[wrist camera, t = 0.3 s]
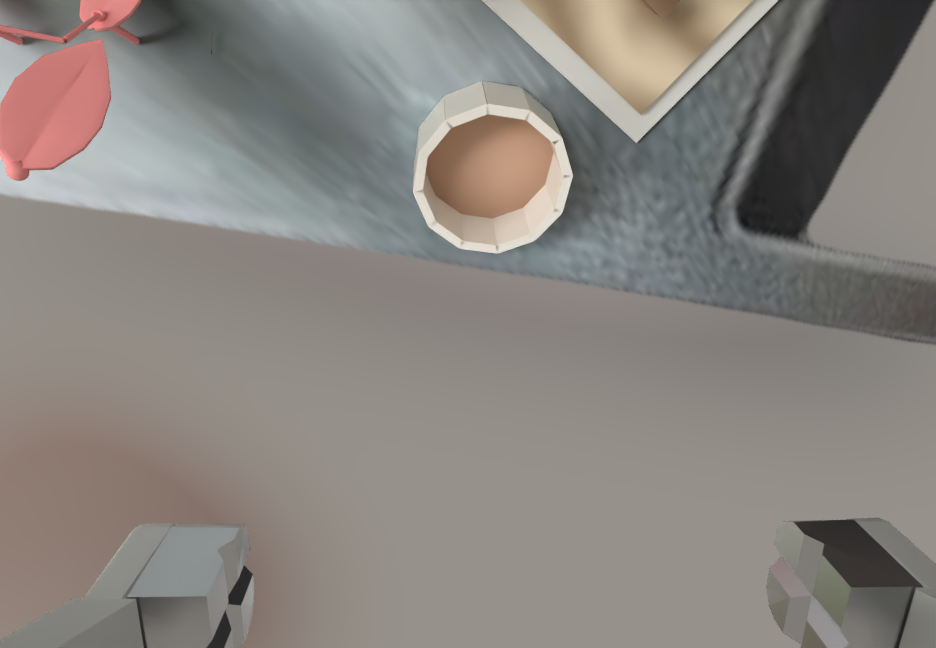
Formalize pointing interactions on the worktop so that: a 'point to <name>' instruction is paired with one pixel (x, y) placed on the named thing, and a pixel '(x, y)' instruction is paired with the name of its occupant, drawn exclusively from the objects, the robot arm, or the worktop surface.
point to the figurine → (60, 93)
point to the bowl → (490, 168)
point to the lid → (638, 38)
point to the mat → (596, 88)
